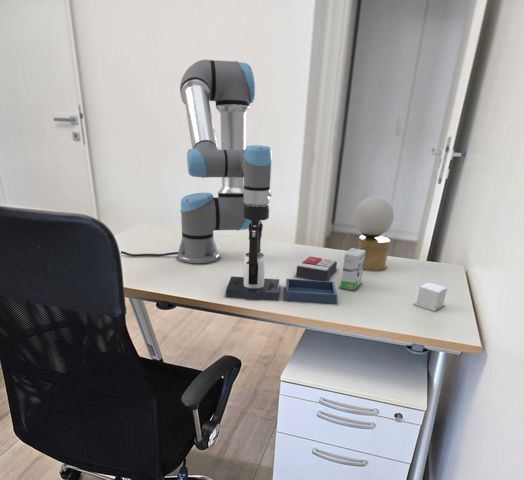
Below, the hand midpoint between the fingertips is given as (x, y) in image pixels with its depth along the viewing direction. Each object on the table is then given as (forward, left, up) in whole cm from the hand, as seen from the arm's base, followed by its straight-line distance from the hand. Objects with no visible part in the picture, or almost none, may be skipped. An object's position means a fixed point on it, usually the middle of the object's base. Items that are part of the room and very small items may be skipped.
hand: (253, 279), depth 138 cm
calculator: (+21, +22, -4) cm, 31 cm away
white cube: (+55, -2, -4) cm, 55 cm away
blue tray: (+18, 0, -4) cm, 18 cm away
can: (0, 0, -4) cm, 4 cm away
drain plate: (0, 0, -4) cm, 4 cm away
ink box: (+32, +11, -4) cm, 34 cm away
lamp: (+41, +36, -4) cm, 55 cm away
